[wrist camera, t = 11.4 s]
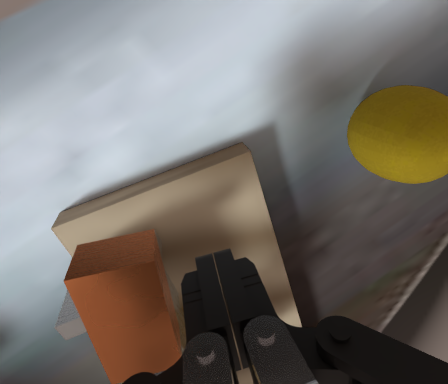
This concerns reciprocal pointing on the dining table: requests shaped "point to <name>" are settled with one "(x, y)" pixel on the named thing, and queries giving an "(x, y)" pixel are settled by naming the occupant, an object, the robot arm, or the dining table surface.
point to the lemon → (402, 134)
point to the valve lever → (125, 304)
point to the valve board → (193, 222)
